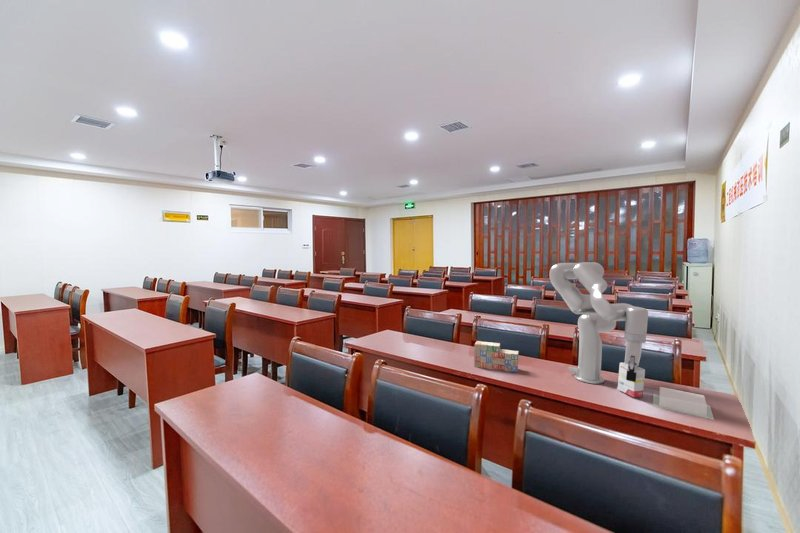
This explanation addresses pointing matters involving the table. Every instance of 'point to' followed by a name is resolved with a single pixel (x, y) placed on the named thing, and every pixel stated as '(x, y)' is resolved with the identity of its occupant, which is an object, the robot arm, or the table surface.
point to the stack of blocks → (495, 357)
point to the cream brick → (683, 401)
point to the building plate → (656, 404)
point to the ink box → (629, 386)
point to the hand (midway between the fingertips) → (631, 377)
